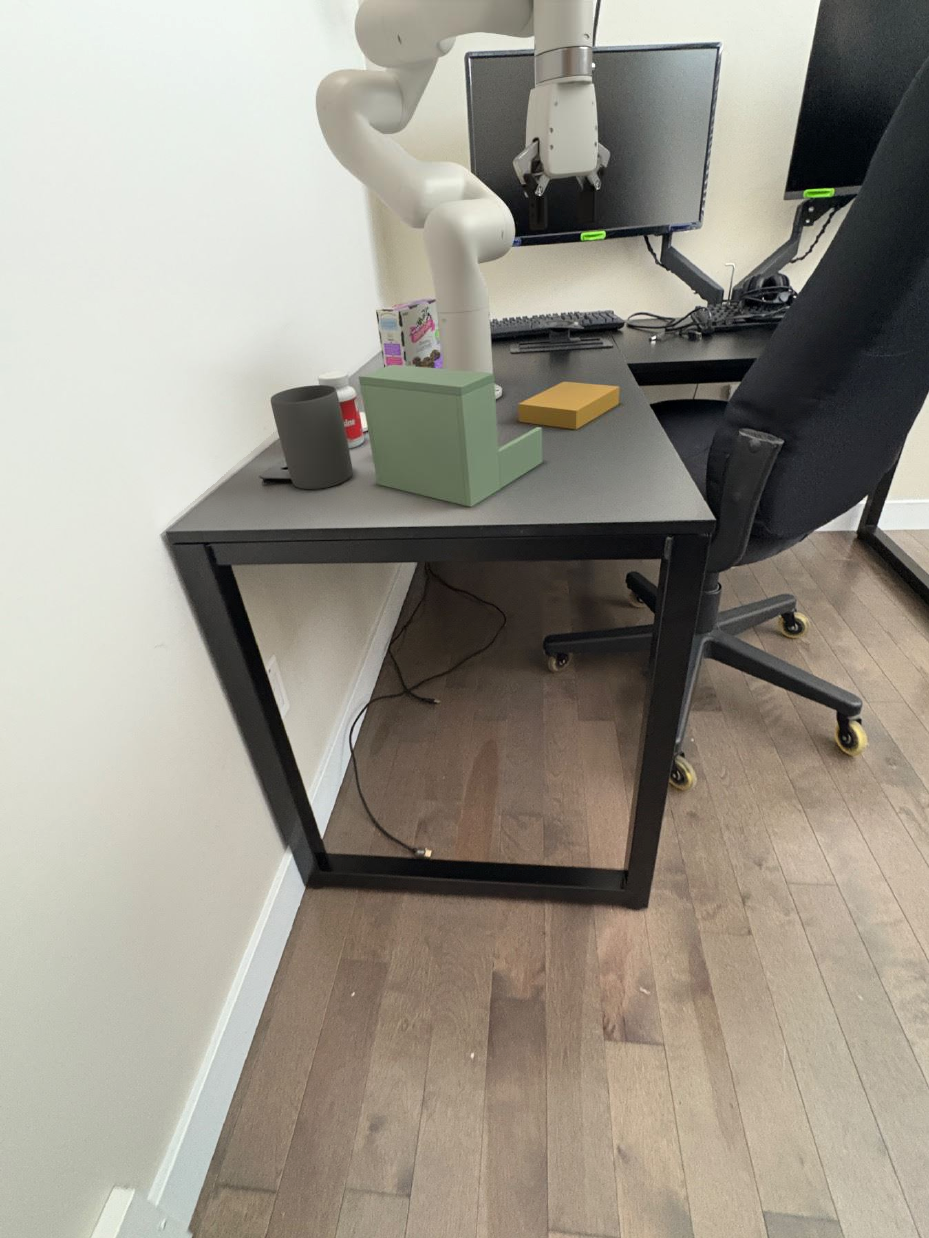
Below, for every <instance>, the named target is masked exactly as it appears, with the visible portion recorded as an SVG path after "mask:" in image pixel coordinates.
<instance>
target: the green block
mask: <svg viewBox="0 0 929 1238" xmlns="http://www.w3.org/2000/svg"><path fill="white" fill-rule="evenodd" d="M358 381H359V387H360V393H361V398H362V405H363V410H364V413H365V416H366V422H367V427H368V430H367V432H368V438H369V442H370V449H371V454H372V459H373V460H372V461H373V467H374V472H375V477H376V483H377V485H379V486H382V487H387V488H392V489H395V490H399V491H404V492H408V493H411V494H416V495H419V496H425V497H428V498H432V499H435V500H436V499H437V500H441V501H444V502H449V503H452V504H458V505H462V506H465V507H469V508H472V507H474V506H475V505H477V504H478V503H480V502H482V501H484V500H485V499H487V498H489V497H490V496H491V495H493V494H494V493H496V492H498V491H500V490H501V489H502V488H504V487H506V486H507V485H509V484H511V483H512V482H514V481H515V480H517V479H518V478H520V477H521V476H523V475H525V474H527V473H528V472H529V471H531V470H533V469H534V468H536V467H537V466H539V465H540V464H542V463H543V427H539V426H536V427H534V428H533V429H531V430H529V431H527V432H526V433H524V434H522V435H521V436H519V437H516V438H515V439H513V440H511V441H509V442H507V443H505V444H504V445H501V446H500V447H499V439H498V438H499V437H498V419H497V403H496V400H497V399H496V400H495V384H496V383H495V373H494V372H493V373H484V372H473V371H461V370H450V369H438V368H427V367H415V366H403V365H390V366H387V367H384V366H383V367H382V368H381V367H380V368H379V369H376V370H375V369H374V370H372V371H370V372H367V373H364V374H361V375H358Z"/></svg>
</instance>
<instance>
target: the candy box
mask: <svg viewBox="0 0 929 1238" xmlns="http://www.w3.org/2000/svg"><path fill="white" fill-rule="evenodd" d="M375 314H376V315H375V316H376V321H377V328H378V336H379V343H380V350H381V355H382V362H383V368H384V367H387V366H390V365H403V366H415V367H427V368H438V369H443V366H442V356H441V346H440V337H439V327H438V317H437V309H436V299H435V298H415V299H412V300H408V301H405V302H401V303H398V304H394V305H391V306H387V307H384V308H378V309H375Z"/></svg>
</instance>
